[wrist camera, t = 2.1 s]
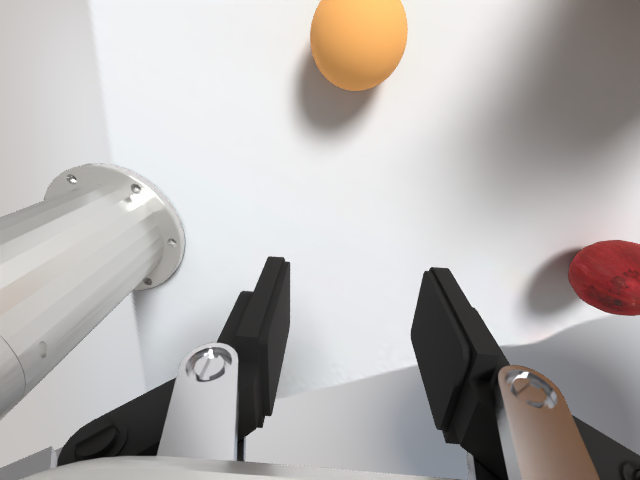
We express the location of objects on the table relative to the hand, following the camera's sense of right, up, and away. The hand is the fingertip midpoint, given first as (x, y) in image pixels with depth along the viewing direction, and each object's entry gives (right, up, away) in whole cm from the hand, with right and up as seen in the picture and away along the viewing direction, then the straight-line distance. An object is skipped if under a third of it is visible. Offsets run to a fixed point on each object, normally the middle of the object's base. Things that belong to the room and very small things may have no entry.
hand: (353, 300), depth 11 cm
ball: (+1, +15, +9) cm, 17 cm away
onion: (+23, +1, +18) cm, 29 cm away
